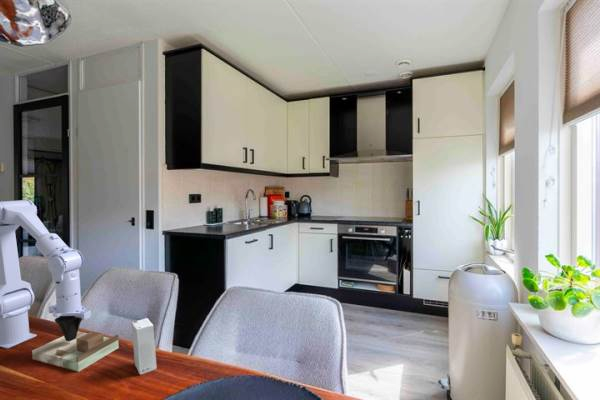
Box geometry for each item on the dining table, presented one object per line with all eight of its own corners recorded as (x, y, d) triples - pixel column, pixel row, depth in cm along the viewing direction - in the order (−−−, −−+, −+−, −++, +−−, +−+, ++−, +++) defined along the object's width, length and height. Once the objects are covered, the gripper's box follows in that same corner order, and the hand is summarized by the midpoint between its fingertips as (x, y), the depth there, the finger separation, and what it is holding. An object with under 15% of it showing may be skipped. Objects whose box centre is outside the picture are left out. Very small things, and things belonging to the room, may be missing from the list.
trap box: (32, 359, 88) (31, 345, 87) (75, 338, 99) (74, 325, 99) (78, 371, 82) (77, 356, 82) (118, 347, 93) (118, 334, 93)
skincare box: (157, 369, 83) (155, 324, 82) (138, 376, 80) (136, 330, 79) (151, 358, 87) (149, 316, 86) (133, 365, 84) (131, 321, 84)
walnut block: (77, 350, 87) (76, 338, 87) (92, 342, 91) (91, 331, 91) (88, 353, 86) (88, 341, 85) (103, 345, 90) (103, 333, 90)
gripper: (35, 295, 88) (38, 342, 89) (72, 302, 84) (75, 351, 85) (61, 287, 95) (64, 330, 96) (96, 292, 90) (99, 338, 91)
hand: (71, 339), depth 91 cm, fingers closed
